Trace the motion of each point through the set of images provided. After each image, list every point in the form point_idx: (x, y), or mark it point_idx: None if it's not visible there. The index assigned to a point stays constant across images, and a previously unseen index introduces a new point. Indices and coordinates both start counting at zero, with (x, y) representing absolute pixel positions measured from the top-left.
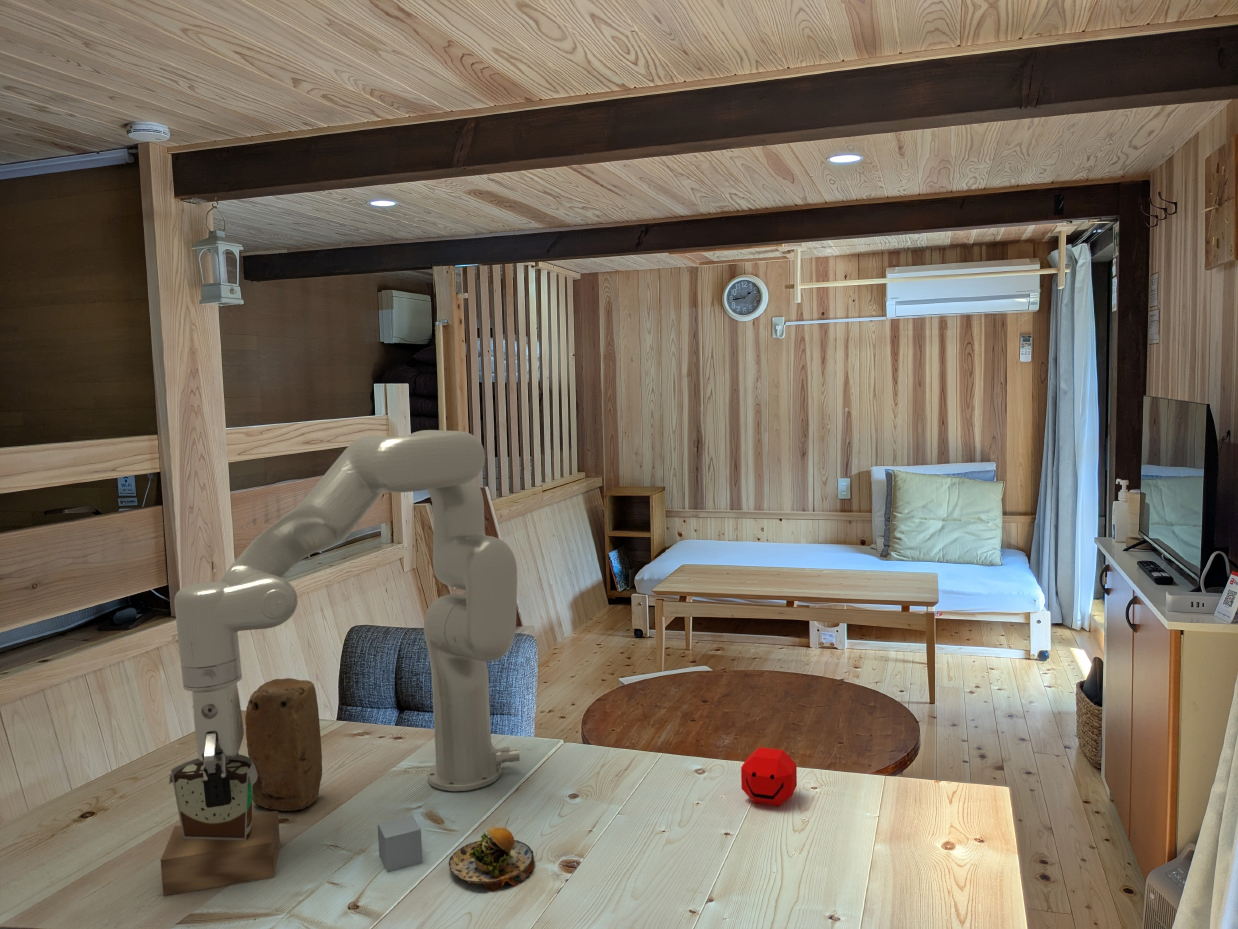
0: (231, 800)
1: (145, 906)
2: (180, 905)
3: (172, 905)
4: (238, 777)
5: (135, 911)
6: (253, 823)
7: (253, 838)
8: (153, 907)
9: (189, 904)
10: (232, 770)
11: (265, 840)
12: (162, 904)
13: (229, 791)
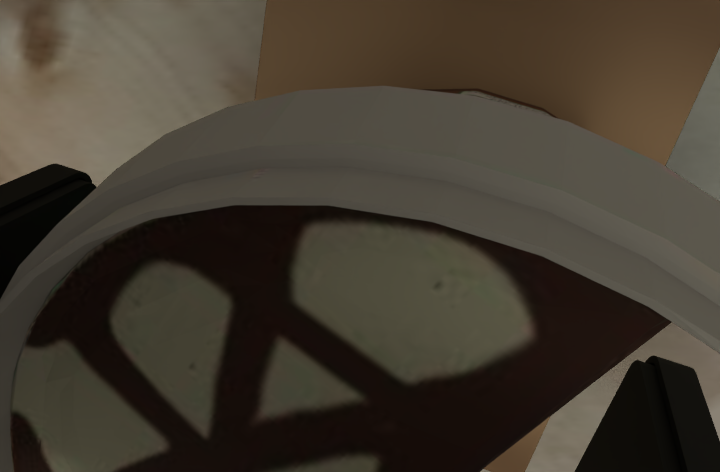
0: (675, 366)
1: (560, 434)
2: (642, 355)
3: (620, 374)
4: (587, 384)
5: (573, 461)
6: (381, 60)
7: (591, 93)
8: (587, 419)
9: (660, 331)
10: (339, 391)
11: (681, 29)
12: (586, 396)
13: (714, 451)
